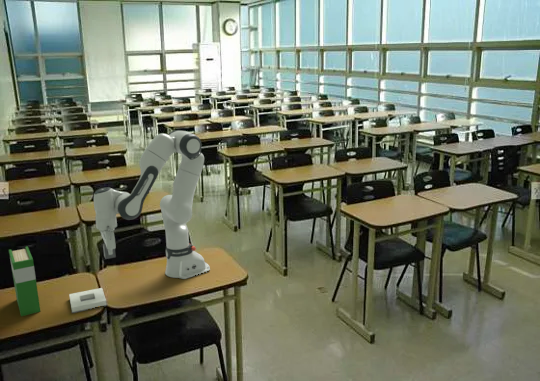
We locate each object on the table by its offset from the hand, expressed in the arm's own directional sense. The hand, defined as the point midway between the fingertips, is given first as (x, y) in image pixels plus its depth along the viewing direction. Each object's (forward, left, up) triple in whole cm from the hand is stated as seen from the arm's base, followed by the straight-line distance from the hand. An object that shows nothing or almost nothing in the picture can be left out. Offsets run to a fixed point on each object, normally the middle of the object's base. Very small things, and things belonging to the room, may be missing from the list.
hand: (109, 252), depth 214 cm
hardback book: (+36, -1, -19) cm, 40 cm away
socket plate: (+12, +8, -19) cm, 24 cm away
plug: (0, 0, -2) cm, 2 cm away
